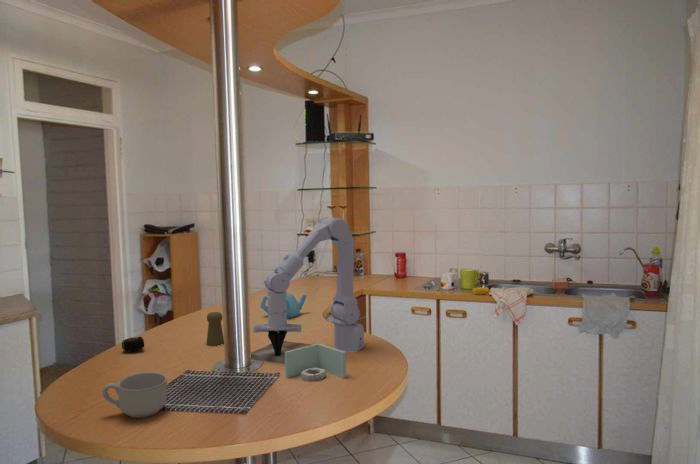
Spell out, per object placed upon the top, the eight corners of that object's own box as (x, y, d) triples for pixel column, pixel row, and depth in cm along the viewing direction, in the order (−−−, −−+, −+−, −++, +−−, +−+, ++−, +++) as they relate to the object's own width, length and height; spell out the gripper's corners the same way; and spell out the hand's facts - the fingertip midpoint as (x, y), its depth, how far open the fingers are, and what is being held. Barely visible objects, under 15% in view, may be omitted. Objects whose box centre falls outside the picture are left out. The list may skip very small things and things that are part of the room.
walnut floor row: (325, 350, 168) (325, 345, 168) (315, 356, 162) (315, 351, 162) (278, 344, 175) (278, 340, 175) (267, 350, 169) (267, 345, 169)
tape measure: (145, 349, 169) (143, 338, 168) (122, 354, 166) (121, 343, 166) (144, 345, 175) (143, 334, 175) (122, 350, 172) (121, 339, 172)
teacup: (174, 403, 126) (173, 371, 125) (159, 422, 115) (157, 387, 114) (116, 404, 125) (115, 372, 125) (96, 424, 114) (94, 388, 114)
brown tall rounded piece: (226, 341, 180) (225, 310, 180) (220, 346, 174) (219, 314, 174) (210, 341, 181) (209, 310, 180) (203, 346, 175) (202, 314, 174)
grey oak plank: (314, 356, 162) (314, 351, 162) (298, 365, 153) (298, 360, 152) (266, 350, 169) (266, 345, 169) (248, 358, 160) (248, 353, 160)
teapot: (279, 310, 230) (278, 286, 230) (308, 313, 224) (307, 289, 223) (258, 318, 217) (257, 292, 216) (288, 321, 210) (287, 295, 209)
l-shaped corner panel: (285, 378, 143) (284, 351, 142) (319, 368, 150) (318, 343, 150) (311, 389, 134) (311, 361, 133) (346, 378, 142) (345, 352, 141)
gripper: (302, 308, 162) (302, 351, 163) (256, 308, 162) (257, 351, 163) (299, 313, 155) (300, 357, 156) (251, 313, 155) (252, 358, 156)
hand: (278, 354), depth 159 cm, fingers closed, pressing on grey oak plank
